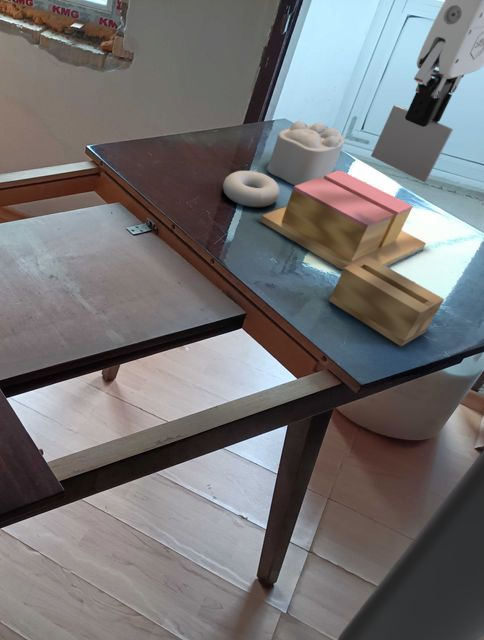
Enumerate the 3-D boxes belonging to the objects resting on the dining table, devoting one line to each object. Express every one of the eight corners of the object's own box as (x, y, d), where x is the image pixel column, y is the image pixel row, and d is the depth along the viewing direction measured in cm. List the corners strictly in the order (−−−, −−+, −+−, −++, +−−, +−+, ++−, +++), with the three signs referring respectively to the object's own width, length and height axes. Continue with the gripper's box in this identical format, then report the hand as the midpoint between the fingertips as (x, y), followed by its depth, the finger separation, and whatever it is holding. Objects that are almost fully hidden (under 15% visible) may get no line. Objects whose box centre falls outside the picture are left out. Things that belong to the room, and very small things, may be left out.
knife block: (424, 332, 98) (444, 299, 94) (400, 346, 95) (420, 312, 91) (353, 289, 105) (368, 256, 101) (328, 301, 102) (343, 267, 98)
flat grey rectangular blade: (429, 180, 100) (475, 92, 91) (421, 183, 99) (467, 94, 90) (375, 154, 105) (414, 68, 96) (367, 157, 104) (405, 71, 95)
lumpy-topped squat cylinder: (260, 168, 134) (273, 125, 129) (300, 153, 141) (314, 112, 135) (304, 190, 128) (320, 146, 123) (344, 174, 135) (361, 131, 129)
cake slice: (395, 241, 114) (413, 205, 110) (381, 247, 112) (398, 212, 108) (326, 203, 122) (339, 169, 118) (311, 209, 120) (324, 175, 116)
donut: (253, 181, 130) (210, 187, 127) (259, 164, 128) (215, 170, 125) (287, 207, 123) (242, 214, 120) (293, 189, 121) (247, 196, 118)
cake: (423, 249, 115) (444, 208, 110) (359, 280, 107) (379, 237, 102) (324, 197, 127) (339, 157, 122) (259, 221, 119) (273, 180, 114)
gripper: (484, -9, 79) (413, 142, 91) (549, -22, 86) (476, 120, 98) (424, -25, 83) (364, 121, 95) (491, -36, 91) (427, 101, 103)
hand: (421, 119), depth 97 cm, fingers closed on flat grey rectangular blade, 2 cm apart
